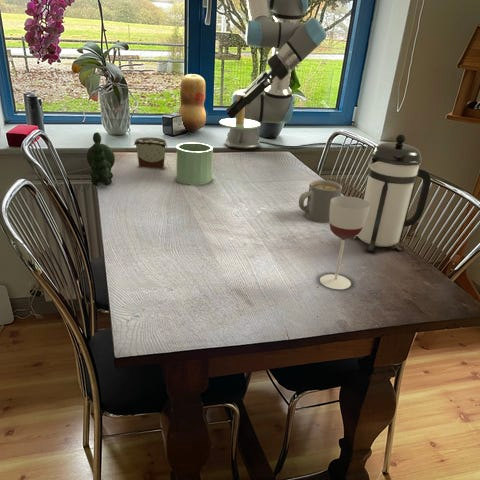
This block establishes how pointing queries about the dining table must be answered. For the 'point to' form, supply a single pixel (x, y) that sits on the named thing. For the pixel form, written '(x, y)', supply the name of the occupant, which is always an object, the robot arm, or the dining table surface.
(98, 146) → the toy figurine
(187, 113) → the butternut squash
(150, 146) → the food container
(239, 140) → the robot arm
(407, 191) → the coffee press
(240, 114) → the lid
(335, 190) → the coffee mug
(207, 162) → the canister
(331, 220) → the wineglass
